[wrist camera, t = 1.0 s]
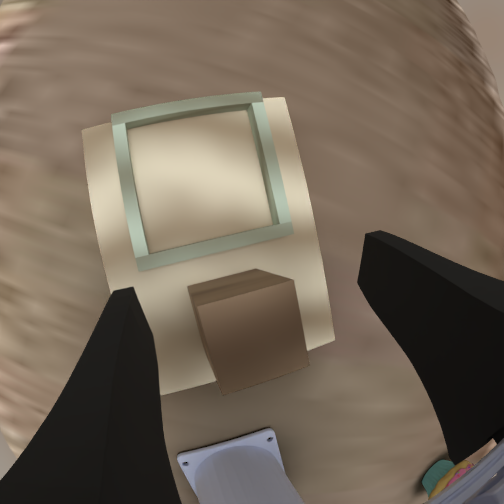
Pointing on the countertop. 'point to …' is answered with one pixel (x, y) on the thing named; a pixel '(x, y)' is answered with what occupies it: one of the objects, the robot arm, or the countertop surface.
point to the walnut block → (249, 327)
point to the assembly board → (202, 214)
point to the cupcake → (443, 475)
